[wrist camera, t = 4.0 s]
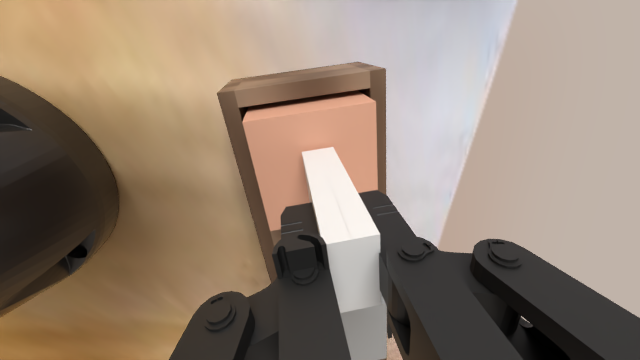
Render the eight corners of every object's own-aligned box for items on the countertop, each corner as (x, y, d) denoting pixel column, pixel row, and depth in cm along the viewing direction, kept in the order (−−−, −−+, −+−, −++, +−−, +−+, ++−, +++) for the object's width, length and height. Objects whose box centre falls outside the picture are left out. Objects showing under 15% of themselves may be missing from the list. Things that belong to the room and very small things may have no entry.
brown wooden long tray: (304, 364, 32) (309, 415, 28) (231, 79, 17) (216, 93, 13) (371, 349, 33) (386, 397, 28) (358, 61, 18) (385, 68, 13)
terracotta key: (271, 187, 19) (270, 231, 15) (251, 100, 16) (242, 122, 12) (354, 172, 19) (378, 211, 15) (349, 85, 17) (376, 101, 12)
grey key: (299, 313, 23) (304, 376, 19) (287, 262, 21) (290, 322, 16) (366, 299, 24) (386, 357, 20) (363, 248, 21) (386, 302, 17)
